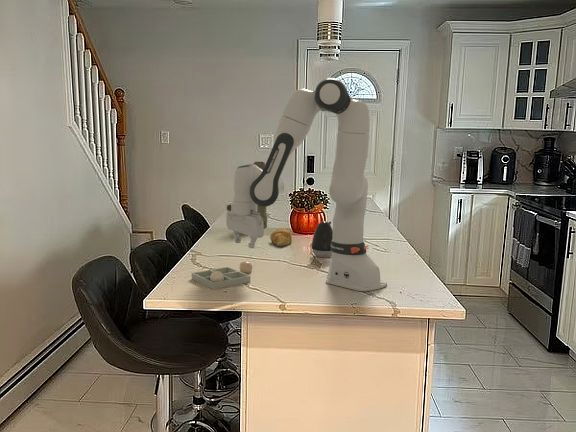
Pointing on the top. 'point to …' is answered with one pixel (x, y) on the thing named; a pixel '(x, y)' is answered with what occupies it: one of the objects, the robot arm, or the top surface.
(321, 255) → the pump dispenser
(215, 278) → the pale egg
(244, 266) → the brown egg
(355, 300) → the top surface
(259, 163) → the thermos
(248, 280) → the carton
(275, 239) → the croissant
